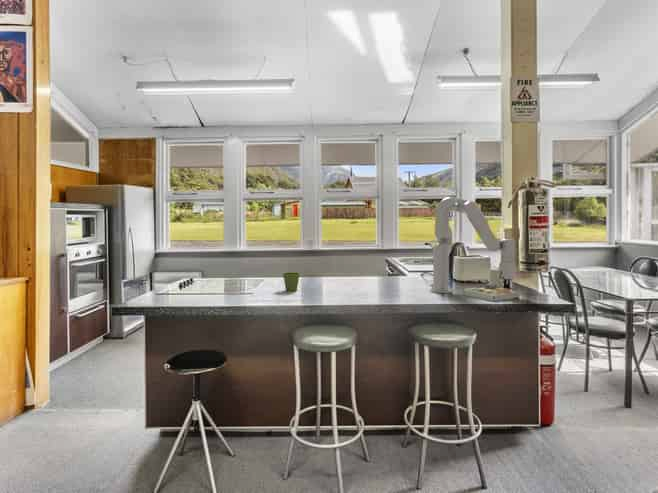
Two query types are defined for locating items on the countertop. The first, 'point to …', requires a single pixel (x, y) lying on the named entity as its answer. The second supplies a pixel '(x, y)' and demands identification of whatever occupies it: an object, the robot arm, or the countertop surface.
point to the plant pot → (291, 280)
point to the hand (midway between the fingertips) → (506, 290)
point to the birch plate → (493, 292)
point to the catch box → (483, 295)
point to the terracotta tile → (502, 290)
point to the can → (494, 277)
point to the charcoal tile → (490, 286)
